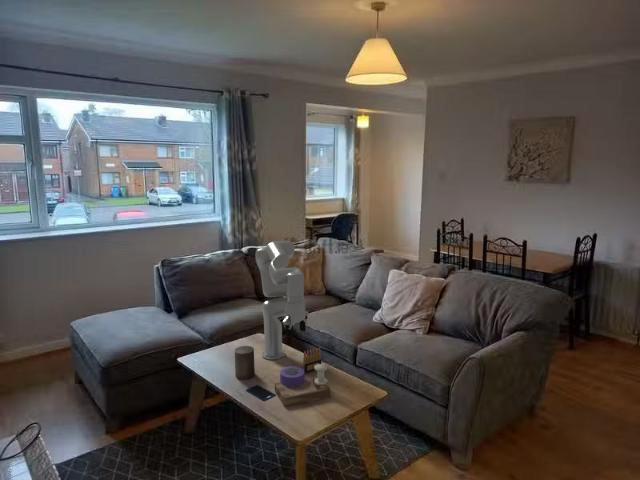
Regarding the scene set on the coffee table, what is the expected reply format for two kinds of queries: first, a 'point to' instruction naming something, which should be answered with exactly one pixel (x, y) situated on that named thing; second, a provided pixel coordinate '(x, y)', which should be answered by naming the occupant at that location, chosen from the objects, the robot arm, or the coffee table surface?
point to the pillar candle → (244, 362)
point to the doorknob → (320, 374)
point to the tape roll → (292, 376)
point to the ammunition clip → (311, 360)
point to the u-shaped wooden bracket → (302, 394)
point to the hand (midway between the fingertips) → (295, 333)
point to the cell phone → (260, 392)
